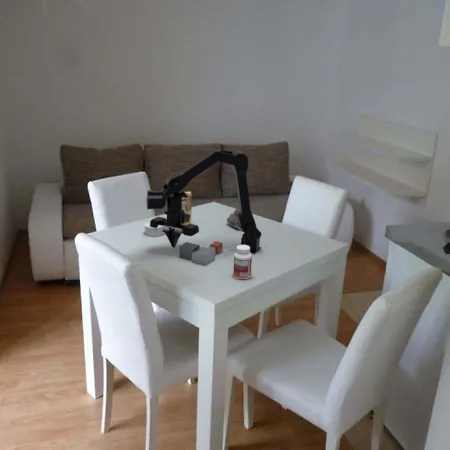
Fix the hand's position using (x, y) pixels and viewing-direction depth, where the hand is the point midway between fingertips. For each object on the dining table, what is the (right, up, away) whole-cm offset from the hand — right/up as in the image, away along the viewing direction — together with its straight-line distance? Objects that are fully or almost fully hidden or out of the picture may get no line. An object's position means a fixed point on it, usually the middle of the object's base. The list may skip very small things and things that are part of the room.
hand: (173, 247), depth 190 cm
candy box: (0, +8, +31) cm, 32 cm away
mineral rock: (+27, +7, +32) cm, 43 cm away
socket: (+6, -4, -2) cm, 7 cm away
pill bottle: (+25, -10, -15) cm, 31 cm away
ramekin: (-10, +4, +21) cm, 24 cm away
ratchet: (+11, -3, +1) cm, 12 cm away
